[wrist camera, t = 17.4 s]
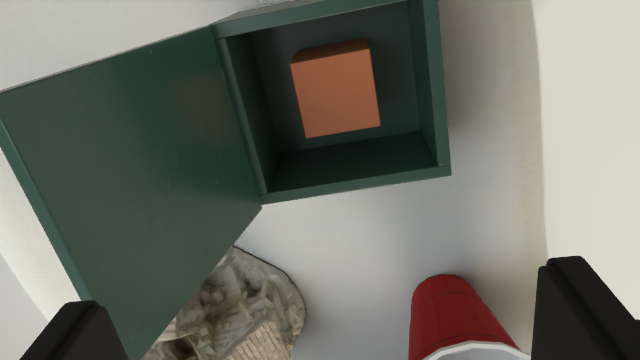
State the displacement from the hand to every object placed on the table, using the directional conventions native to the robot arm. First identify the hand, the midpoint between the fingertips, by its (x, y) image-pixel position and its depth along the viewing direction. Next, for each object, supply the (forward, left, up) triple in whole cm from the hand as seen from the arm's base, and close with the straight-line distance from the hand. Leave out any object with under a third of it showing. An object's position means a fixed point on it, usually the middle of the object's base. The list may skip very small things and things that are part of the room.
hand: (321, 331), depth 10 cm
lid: (0, -8, -12) cm, 14 cm away
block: (0, 0, -26) cm, 26 cm away
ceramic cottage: (+18, -15, -27) cm, 35 cm away
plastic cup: (+22, +6, -27) cm, 35 cm away
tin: (0, 0, -26) cm, 26 cm away
